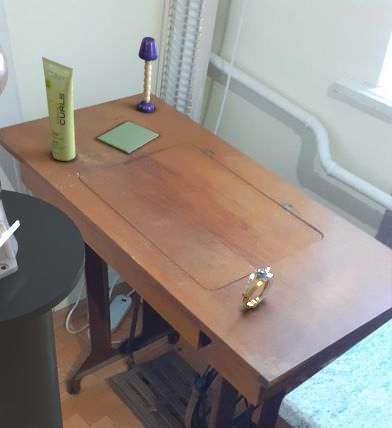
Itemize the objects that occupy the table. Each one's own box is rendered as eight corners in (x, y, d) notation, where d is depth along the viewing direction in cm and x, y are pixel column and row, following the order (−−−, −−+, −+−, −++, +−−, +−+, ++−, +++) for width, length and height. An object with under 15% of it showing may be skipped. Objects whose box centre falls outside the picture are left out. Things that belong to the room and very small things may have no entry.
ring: (259, 293, 96) (270, 258, 91) (272, 303, 95) (284, 268, 89) (232, 308, 93) (240, 272, 87) (244, 319, 91) (254, 284, 86)
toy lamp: (152, 114, 137) (157, 43, 125) (134, 111, 137) (137, 40, 124) (155, 106, 140) (160, 36, 128) (137, 103, 140) (141, 33, 128)
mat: (128, 153, 123) (128, 152, 122) (97, 139, 125) (97, 137, 125) (158, 135, 130) (158, 134, 130) (128, 122, 133) (128, 121, 132)
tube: (49, 161, 116) (41, 66, 102) (49, 149, 119) (42, 55, 105) (76, 162, 117) (72, 68, 103) (75, 150, 121) (71, 57, 106)
